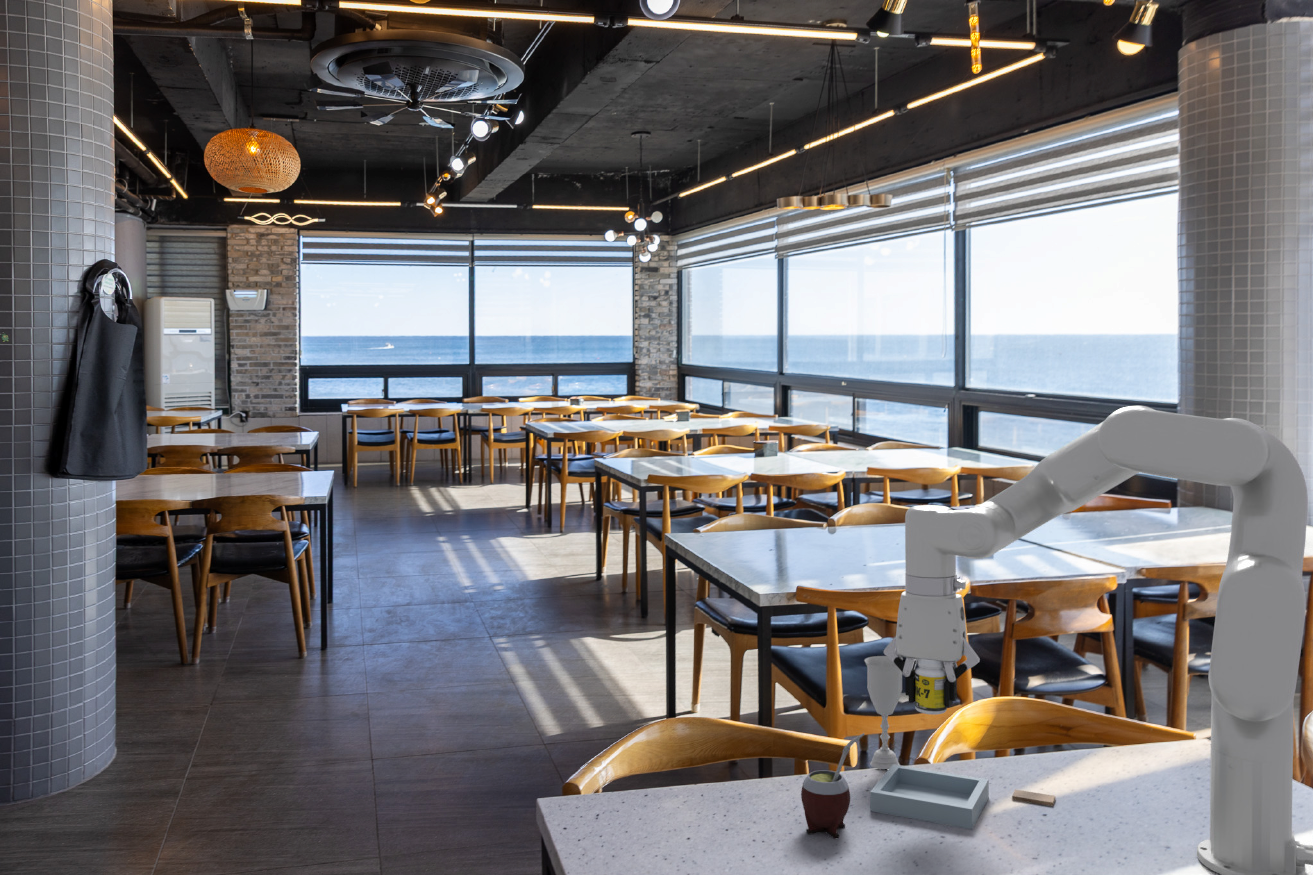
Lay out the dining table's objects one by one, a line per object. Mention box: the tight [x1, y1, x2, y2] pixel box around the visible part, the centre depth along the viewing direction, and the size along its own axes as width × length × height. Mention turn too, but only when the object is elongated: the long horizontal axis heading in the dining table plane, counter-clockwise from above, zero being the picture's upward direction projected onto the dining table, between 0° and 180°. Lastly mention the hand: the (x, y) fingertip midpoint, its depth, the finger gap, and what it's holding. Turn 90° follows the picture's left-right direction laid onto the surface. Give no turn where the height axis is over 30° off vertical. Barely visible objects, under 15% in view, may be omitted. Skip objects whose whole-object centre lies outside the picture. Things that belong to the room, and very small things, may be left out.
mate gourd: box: [800, 732, 865, 840], centre depth 151 cm, size 8×8×15 cm
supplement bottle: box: [914, 659, 948, 716], centre depth 159 cm, size 5×5×8 cm
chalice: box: [863, 655, 903, 770], centre depth 177 cm, size 7×7×18 cm
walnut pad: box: [1011, 789, 1056, 807], centre depth 161 cm, size 6×3×1 cm, turn 62°
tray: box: [869, 764, 990, 830], centre depth 160 cm, size 15×13×3 cm
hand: (930, 701), depth 159 cm, fingers closed on supplement bottle, 4 cm apart
